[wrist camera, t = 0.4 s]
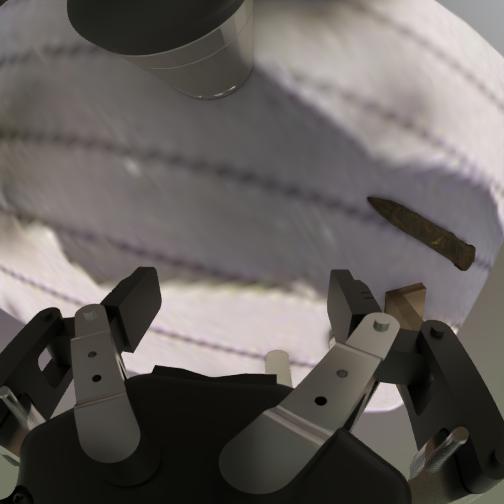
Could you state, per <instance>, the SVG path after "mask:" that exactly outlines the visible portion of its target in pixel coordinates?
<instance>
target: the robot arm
mask: <svg viewBox="0 0 504 504" xmlns="http://www.w3.org/2000/svg"><path fill="white" fill-rule="evenodd" d="M6 1H7V0H0V6H1V5H3V4H4V3H5V2H6ZM67 13H68V17H69V20H70V22H71V24H72V26H73V28H74V29H75V30H76V31H77V32H78V33H79V34H80V35H81V36H82V37H83V38H85V39H86V40H88V41H90V42H92V43H94V44H95V45H97V46H99V47H102V48H104V49H106V50H108V51H110V52H112V53H114V54H116V55H118V56H120V57H122V58H124V59H126V60H128V61H130V62H131V63H133V64H135V65H137V66H139V67H140V68H142V69H144V70H146V71H148V72H149V73H151V74H153V75H154V76H156V77H158V78H160V79H161V80H163V81H165V82H166V83H168V84H170V85H171V86H173V87H174V88H176V89H177V90H179V91H181V92H182V93H184V94H186V95H188V96H190V97H193V98H197V99H204V100H211V99H218V98H221V97H224V96H227V95H229V94H231V93H233V92H234V91H236V90H237V89H238V88H240V87H241V86H242V85H243V84H244V83H245V81H246V80H247V79H248V77H249V75H250V73H251V71H252V67H253V53H254V1H253V0H67ZM161 302H162V298H161V292H160V287H159V282H158V276H157V271H156V269H155V268H154V267H138V268H137V269H136V270H135V271H134V272H133V273H132V274H131V276H129V277H127V278H125V279H124V280H122V281H121V282H120V283H119V284H118V285H117V286H116V288H114V289H113V290H112V292H110V293H109V294H108V295H107V296H106V297H105V298H104V300H103V301H102V302H101V303H100V304H90V305H86V306H84V307H82V308H80V309H79V310H78V311H77V312H76V313H75V317H70V318H63V317H62V314H61V312H60V310H59V309H58V308H55V307H51V308H46V309H44V310H42V311H40V312H39V313H38V314H36V315H35V316H34V318H33V319H32V320H31V321H30V322H29V323H28V324H27V325H26V326H25V327H24V328H23V329H22V330H21V331H20V332H19V333H18V334H17V336H16V337H15V338H14V339H13V340H12V341H11V342H10V343H9V344H8V345H7V347H6V348H5V349H4V350H3V351H2V352H1V353H0V454H1V455H2V456H3V457H4V458H5V459H6V460H8V462H10V463H11V464H12V465H14V466H19V474H18V479H17V484H16V487H15V489H14V491H13V493H12V494H11V495H10V496H8V497H7V498H5V499H2V500H0V504H469V503H470V502H472V501H473V500H475V499H477V498H478V497H480V496H481V495H483V494H484V493H486V492H487V491H488V490H490V489H491V488H493V487H494V486H495V485H497V484H498V483H499V482H501V481H502V480H503V479H504V420H503V418H502V416H501V414H500V412H499V410H498V408H497V406H496V403H495V402H494V400H493V398H492V396H491V394H490V392H489V390H488V388H487V386H486V384H485V383H484V381H483V379H482V377H481V375H480V374H479V372H478V370H477V369H476V367H475V365H474V363H473V362H472V360H471V358H470V357H469V355H468V354H467V352H466V351H465V349H464V347H463V346H462V344H461V342H460V341H459V340H458V338H457V336H456V335H455V333H454V332H453V330H452V329H451V328H450V327H449V326H448V325H447V324H445V323H443V322H441V321H437V320H427V321H425V322H423V323H422V324H421V327H420V330H419V331H415V330H408V329H402V328H400V324H399V322H398V321H397V319H395V318H394V317H393V316H391V315H388V314H385V313H383V312H382V311H381V309H380V307H379V305H378V303H377V302H376V300H375V299H374V296H373V295H372V293H371V291H370V290H369V288H368V286H367V285H366V284H364V283H363V282H361V281H360V280H354V279H353V277H352V275H351V273H350V271H349V270H348V269H347V270H332V271H331V275H330V283H329V292H328V300H327V312H328V316H329V320H330V323H331V327H332V331H333V334H334V338H335V342H336V344H335V345H334V346H333V347H332V348H331V349H330V351H329V352H328V353H327V354H326V355H325V356H324V358H323V359H322V360H321V361H320V362H319V363H318V364H317V365H316V366H315V368H314V369H313V370H312V371H311V372H310V373H309V374H308V375H307V376H306V377H305V378H304V379H303V381H302V382H301V383H300V384H299V385H298V386H297V387H296V388H295V389H294V388H292V387H289V386H286V385H283V384H278V383H277V374H247V373H245V374H238V375H230V376H221V377H208V376H205V375H201V374H198V373H195V372H192V371H189V370H185V369H182V368H173V367H166V366H158V365H155V367H154V369H153V371H152V373H148V374H141V375H137V376H134V377H130V378H129V376H128V373H127V370H126V367H125V364H124V361H123V358H122V356H121V353H122V352H123V351H124V352H130V353H134V351H135V349H136V348H137V346H138V344H139V343H140V341H141V339H142V338H143V336H144V334H145V333H146V331H147V329H148V328H149V326H150V324H151V323H152V321H153V319H154V318H155V316H156V315H157V313H158V311H159V310H160V307H161ZM45 348H47V350H48V352H49V353H50V355H51V357H52V359H51V360H50V361H49V363H48V364H47V366H46V367H45V368H44V370H43V371H41V370H40V368H39V365H38V358H39V356H40V354H41V353H42V352H43V351H44V349H45ZM72 379H74V387H75V395H76V405H75V406H74V407H73V408H72V409H70V410H68V411H66V412H64V413H62V414H60V415H58V416H56V417H54V418H52V419H50V417H51V416H52V414H53V412H54V410H55V408H56V407H57V405H58V403H59V401H60V400H61V398H62V396H63V395H64V393H65V391H66V389H67V388H68V386H69V384H70V383H71V381H72ZM380 382H384V383H391V384H399V386H400V389H401V392H402V395H403V398H404V401H405V405H406V408H407V411H408V415H409V418H410V422H411V425H412V429H413V433H414V436H415V440H416V444H417V448H418V453H417V454H416V455H415V456H414V458H413V459H412V461H411V463H410V475H409V479H408V481H407V480H406V478H405V477H404V476H403V475H402V473H400V471H398V470H397V469H396V468H395V467H393V466H392V465H391V464H389V463H388V462H387V461H385V460H384V459H383V458H382V457H380V456H379V455H378V454H376V453H375V452H374V451H372V450H371V449H370V448H369V447H368V446H366V445H365V444H364V443H363V442H361V441H360V440H359V439H358V438H356V437H355V436H354V435H353V434H351V432H352V430H353V429H354V427H355V425H356V423H357V421H358V420H359V418H360V416H361V414H362V413H363V411H364V410H365V408H366V406H367V405H368V403H369V401H370V400H371V398H372V396H373V394H374V393H375V391H376V389H377V387H378V385H379V384H380ZM49 419H50V420H49Z"/></svg>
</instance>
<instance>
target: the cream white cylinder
mask: <svg viewBox="0 0 504 504" xmlns="http://www.w3.org/2000/svg"><path fill="white" fill-rule="evenodd" d="M265 367H266V374H277V383H278V384H283V385H286V386H289V387H292V388H293V386H292V379H291V371H290V364H289V357H288V354H287V353H286V352H284V351H281V350H275V351H271V352H269V353H268V354H267V355H266V357H265Z"/></svg>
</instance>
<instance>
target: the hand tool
mask: <svg viewBox="0 0 504 504" xmlns="http://www.w3.org/2000/svg"><path fill="white" fill-rule="evenodd" d="M368 201H369V202H370V204H371V205H372V206H373V207H374V208H375V209H376V210H377V211H378V212H379V214H380V215H382V216H383V217H384V218H386V219H387V220H388V221H389V222H390V223H392V224H393V225H394V226H397V227H398V228H400V229H401V230H402V231H403V232H405V233H407V234H409V235H411V236H413V237H414V238H416V239H418V240H420V241H421V242H423V243H424V244H426V245H427V246H429V247H430V248H432V249H434V250H435V251H437V252H438V253H440V254H442V255H443V256H445V257H446V258H448V259H449V260H451V261H452V262H454V265H455V266H456V267H457V268H458V269H459V270H461V271H466V270H468V269H469V267H470V266H471V264H472V263H473V262H474V259H475V250H476V249H475V247H474V246H473V245H468V244H466V243H464V242H463V241H461V240H459V239H458V238H457V237H456V236H455V235H454V234H453V233H451V232H447V231H445V230H443V229H442V228H440V227H438V226H437V225H435V224H433V223H431V222H430V221H428V220H426V219H425V218H423V217H422V216H420V215H418V214H417V213H415V212H413V211H411V210H410V209H408V208H406V207H404V206H403V205H400V204H397V203H395V202H392V201H390V200H389V201H388V200H382V199H378V198H372V197H369V198H368Z"/></svg>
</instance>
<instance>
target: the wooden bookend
mask: <svg viewBox="0 0 504 504" xmlns="http://www.w3.org/2000/svg"><path fill="white" fill-rule="evenodd" d="M425 294H426V288H425V286H424V285H423V284H422V283H419V284H415V285H412V286H408V287H404V288H401V289H397V290H393V291H389V292H386V298H385V314H388V315H391V316H393V317H394V318H395V319H397V321H398V322H399V324H400V328H402V329H408V330H415V331H419V330H420V327H421V324H422V323H423V322H424V321H423V320H422V315H423V308H424V302H425ZM396 386H397V388H398V391H399V393H400V395H401V397H402V400H403V402H404V404H405V401H404V398H403V395H402V392H401V389H400V386H399V384H396ZM405 406H406V405H405Z"/></svg>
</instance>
